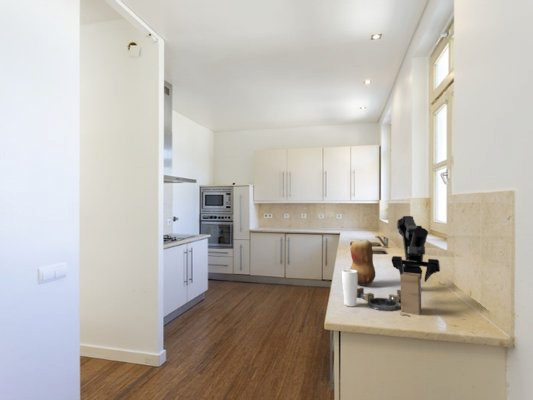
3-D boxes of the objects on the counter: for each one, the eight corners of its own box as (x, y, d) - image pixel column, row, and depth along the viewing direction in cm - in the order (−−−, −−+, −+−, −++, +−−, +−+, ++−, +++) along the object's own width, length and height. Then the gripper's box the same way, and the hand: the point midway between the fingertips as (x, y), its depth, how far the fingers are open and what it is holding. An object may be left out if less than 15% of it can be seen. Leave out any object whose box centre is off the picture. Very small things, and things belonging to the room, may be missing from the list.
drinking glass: (349, 308, 128) (349, 273, 128) (339, 304, 134) (338, 270, 134) (361, 306, 131) (360, 271, 131) (350, 301, 137) (349, 268, 137)
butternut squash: (345, 283, 170) (344, 238, 171) (365, 281, 174) (364, 237, 175) (360, 289, 157) (359, 241, 157) (381, 287, 161) (380, 240, 162)
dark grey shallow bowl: (386, 299, 139) (386, 296, 139) (406, 309, 126) (406, 305, 126) (361, 302, 136) (361, 299, 136) (379, 312, 123) (378, 308, 123)
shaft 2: (398, 298, 141) (398, 289, 141) (406, 300, 138) (406, 291, 138) (388, 301, 136) (388, 292, 136) (396, 303, 133) (396, 294, 133)
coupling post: (404, 307, 128) (403, 272, 129) (421, 310, 125) (420, 274, 125) (401, 311, 123) (400, 275, 123) (418, 315, 119) (417, 277, 120)
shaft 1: (355, 297, 144) (355, 288, 144) (362, 295, 145) (361, 287, 146) (367, 301, 136) (367, 293, 136) (374, 300, 138) (374, 291, 138)
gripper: (391, 238, 138) (386, 266, 129) (438, 240, 127) (436, 271, 118) (396, 253, 144) (391, 281, 135) (440, 256, 134) (438, 287, 124)
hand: (413, 279), depth 128 cm, fingers open, 9 cm apart
